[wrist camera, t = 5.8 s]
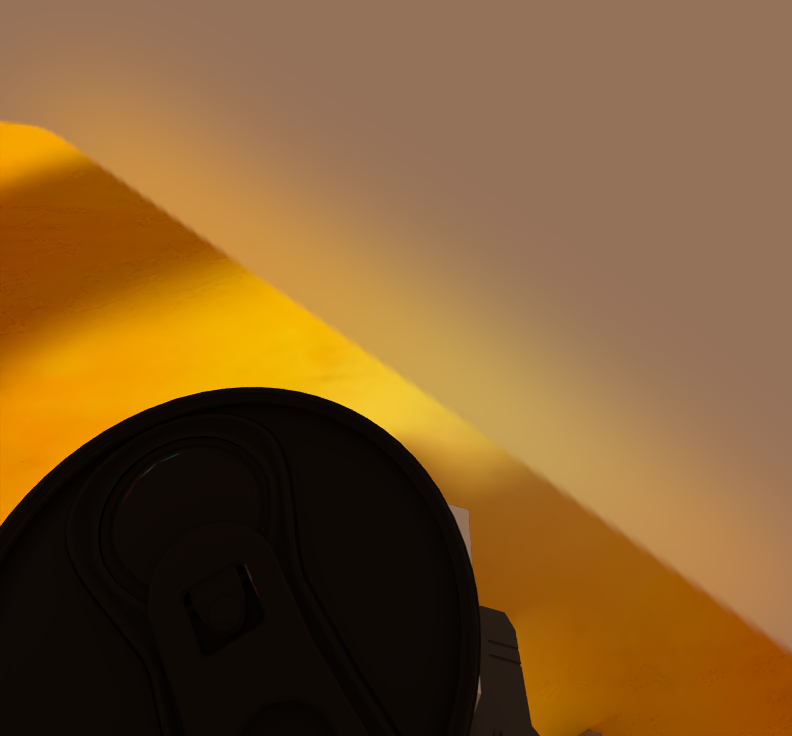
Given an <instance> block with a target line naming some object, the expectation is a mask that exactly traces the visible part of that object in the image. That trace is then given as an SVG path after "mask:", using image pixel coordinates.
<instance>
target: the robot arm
mask: <svg viewBox="0 0 792 736" xmlns="http://www.w3.org/2000/svg"><path fill="white" fill-rule="evenodd" d="M448 506H449V508H450V510H451V511H452V513H453V515H454V517H455V519H456V522H457V524H458V527H459V529H460V532H461V534H462V537H463V539H464V542H465V544H466V548H467V551H468V554H469V558H470V561H471V565H472V556H471V541H470V527H469V512H468V509H464V508H460V507H457V506H453V505H449V504H448ZM479 610H480V622H481V664H480V677H479V686H478V694H477V701H476V706H475V711H474V716H473V721H472V726H471V731H470V734H469V736H539V734H538V733H537V732H536V730H535V729H534V728H533V727H532V724H531V719H530V713H529V708H528V702H527V696H526V690H525V684H524V679H523V673H522V667H521V666H520V664H521V661H520V655H519V651H518V644H517V638H516V632H515V629H514V627H513V626H512V624H511V622H510V621H509V619H508V617H507V616H506V614H505V613H504V612H501V611H497V610H494V609H490V608H487V607H483V606H479Z"/></svg>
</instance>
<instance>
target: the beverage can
mask: <svg viewBox="0 0 792 736" xmlns="http://www.w3.org/2000/svg"><path fill="white" fill-rule="evenodd" d="M480 664H481V622H480V610H479V602H478V594H477V588H476V583H475V578H474V573H473V568H472V565H471V561H470V558H469V554H468V551H467V548H466V544H465V542H464V539H463V537H462V534H461V532H460V529H459V527H458V524H457V522H456V519H455V517H454V515H453V513H452V511H451V510H450V508H449V506H448V504H447V502H446V501H445V499H444V497H443V495H442V493H441V492H440V490H439V488H438V487H437V485H436V484H435V483H434V481H433V480H432V478H431V477H430V475H429V474H428V473H427V471H426V470H425V469H424V468H423V467H422V465H421V464H420V463H419V462H418V461H417V459H416V458H415V457H414V456H413V455H412V454H411V453H410V452H409V451H408V450H407V449H406V448H405V447H404V446H403V445H402V444H401V443H400V442H399V441H398V440H396V439H395V438H394V437H393V436H391V435H390V434H389V433H388V432H387V431H385V430H384V429H383V428H381V427H380V426H378V425H377V424H375V423H374V422H372V421H371V420H369V419H368V418H366V417H364V416H362V415H361V414H359V413H357V412H355V411H353V410H351V409H349V408H347V407H345V406H342V405H340V404H338V403H336V402H333V401H330V400H327V399H324V398H321V397H318V396H315V395H311V394H307V393H303V392H298V391H292V390H286V389H279V388H266V387H239V388H226V389H218V390H212V391H206V392H201V393H197V394H193V395H189V396H185V397H181V398H177V399H174V400H171V401H168V402H166V403H163V404H160V405H157V406H155V407H152V408H149V409H147V410H144V411H142V412H140V413H138V414H136V415H134V416H132V417H129V418H127V419H125V420H123V421H122V422H120V423H118V424H116V425H114V426H113V427H111V428H109V429H107V430H105V431H104V432H102V433H101V434H99V435H98V436H96V437H95V438H93V439H92V440H90V441H89V442H87V443H85V444H84V445H83V446H81V447H80V448H79V449H77V450H76V451H75V452H73V453H72V454H71V455H69V456H68V457H67V458H66V459H64V460H63V461H62V462H61V463H60V464H58V465H57V466H56V467H55V468H54V469H53V470H52V471H50V472H49V473H48V474H47V475H46V476H45V477H44V478H43V479H42V480H41V481H40V482H39V483H38V484H37V485H36V486H35V487H34V488H33V489H32V490H31V491H30V492H29V493H28V494H27V495H26V496H25V497H24V498H23V499H22V501H21V502H20V503H19V504H18V505H17V506H16V507H15V509H14V510H13V511H12V512H11V513H10V514H9V515H8V517H7V518H6V519H5V521H4V522H3V523H2V525H1V526H0V736H469V734H470V731H471V726H472V721H473V716H474V711H475V706H476V701H477V694H478V686H479V677H480Z"/></svg>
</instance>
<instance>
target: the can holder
mask: <svg viewBox="0 0 792 736" xmlns="http://www.w3.org/2000/svg"><path fill="white" fill-rule="evenodd" d="M580 736H602V734H601V733H599V732H596V731H593V730H590V729H588V730H587V731H586V732H584V733H583V734H581V735H580Z"/></svg>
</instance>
